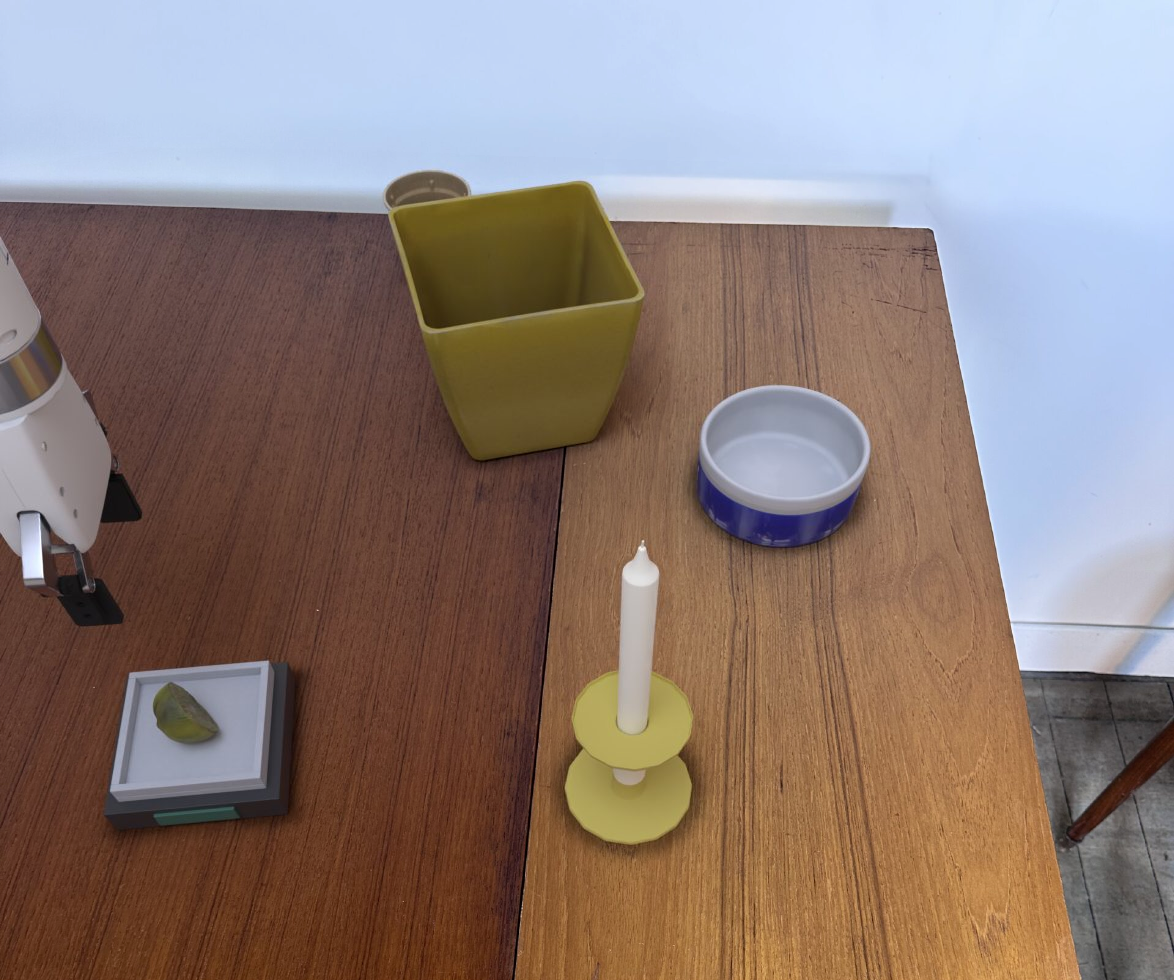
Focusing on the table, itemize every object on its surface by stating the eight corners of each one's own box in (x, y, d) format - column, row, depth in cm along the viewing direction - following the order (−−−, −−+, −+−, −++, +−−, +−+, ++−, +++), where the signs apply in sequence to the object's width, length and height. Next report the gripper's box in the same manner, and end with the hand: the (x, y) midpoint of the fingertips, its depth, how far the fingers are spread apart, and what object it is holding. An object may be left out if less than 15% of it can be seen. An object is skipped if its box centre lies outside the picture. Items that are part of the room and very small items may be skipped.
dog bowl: (862, 553, 88) (878, 503, 83) (693, 546, 89) (699, 496, 84) (849, 439, 96) (864, 386, 91) (695, 433, 97) (700, 381, 92)
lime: (184, 701, 77) (159, 662, 73) (238, 716, 76) (216, 678, 72) (154, 746, 75) (127, 709, 70) (209, 763, 74) (185, 726, 70)
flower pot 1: (493, 258, 112) (486, 180, 104) (454, 304, 108) (444, 226, 100) (422, 239, 114) (410, 161, 107) (381, 283, 110) (365, 205, 102)
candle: (592, 719, 79) (590, 458, 56) (708, 756, 78) (757, 502, 54) (544, 820, 75) (522, 580, 52) (667, 862, 73) (701, 633, 50)
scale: (116, 833, 74) (93, 807, 71) (139, 693, 81) (118, 663, 78) (287, 817, 75) (272, 791, 72) (295, 679, 82) (282, 649, 78)
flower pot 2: (589, 338, 104) (589, 175, 90) (640, 456, 95) (648, 295, 81) (415, 369, 102) (385, 206, 88) (449, 493, 93) (422, 334, 78)
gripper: (-48, 269, 59) (77, 485, 73) (-124, 471, 50) (35, 670, 65) (79, 263, 59) (178, 479, 74) (25, 463, 50) (150, 662, 65)
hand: (111, 568), depth 69 cm, fingers open, 9 cm apart
